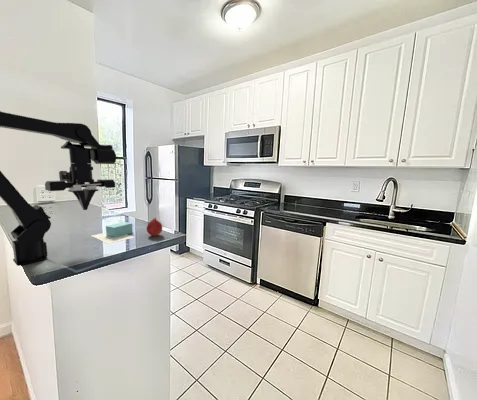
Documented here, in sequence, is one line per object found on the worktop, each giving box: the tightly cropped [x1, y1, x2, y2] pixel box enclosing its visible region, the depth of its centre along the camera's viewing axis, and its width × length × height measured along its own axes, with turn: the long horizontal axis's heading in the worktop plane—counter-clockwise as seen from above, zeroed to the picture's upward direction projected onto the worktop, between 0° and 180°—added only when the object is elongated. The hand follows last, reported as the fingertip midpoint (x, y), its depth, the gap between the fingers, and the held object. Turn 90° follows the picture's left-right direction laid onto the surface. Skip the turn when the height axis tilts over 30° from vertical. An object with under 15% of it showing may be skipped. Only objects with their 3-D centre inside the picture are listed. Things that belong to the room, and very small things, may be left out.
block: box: [105, 221, 134, 238], centre depth 91 cm, size 4×5×8 cm
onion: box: [146, 217, 163, 237], centre depth 89 cm, size 6×6×8 cm
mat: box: [91, 232, 135, 245], centre depth 88 cm, size 10×15×1 cm, turn 53°
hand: (85, 209), depth 76 cm, fingers closed
